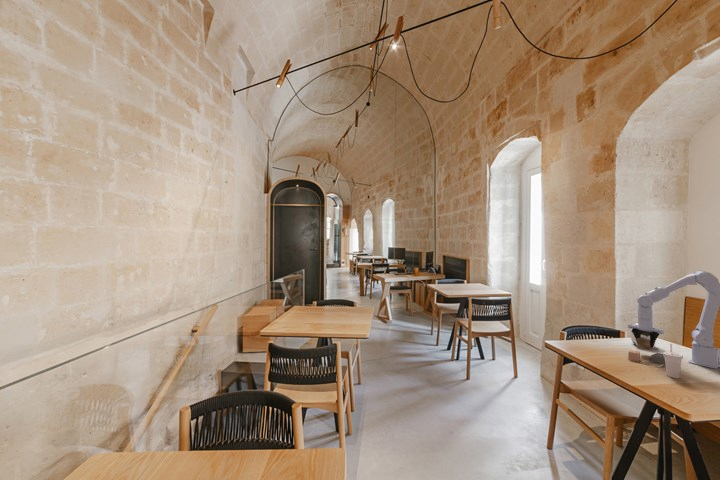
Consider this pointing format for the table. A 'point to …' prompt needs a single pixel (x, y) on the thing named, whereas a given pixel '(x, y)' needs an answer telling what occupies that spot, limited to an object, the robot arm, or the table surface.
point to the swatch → (652, 363)
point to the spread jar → (643, 334)
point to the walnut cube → (644, 343)
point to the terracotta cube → (634, 355)
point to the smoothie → (672, 363)
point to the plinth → (658, 358)
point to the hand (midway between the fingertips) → (645, 345)
